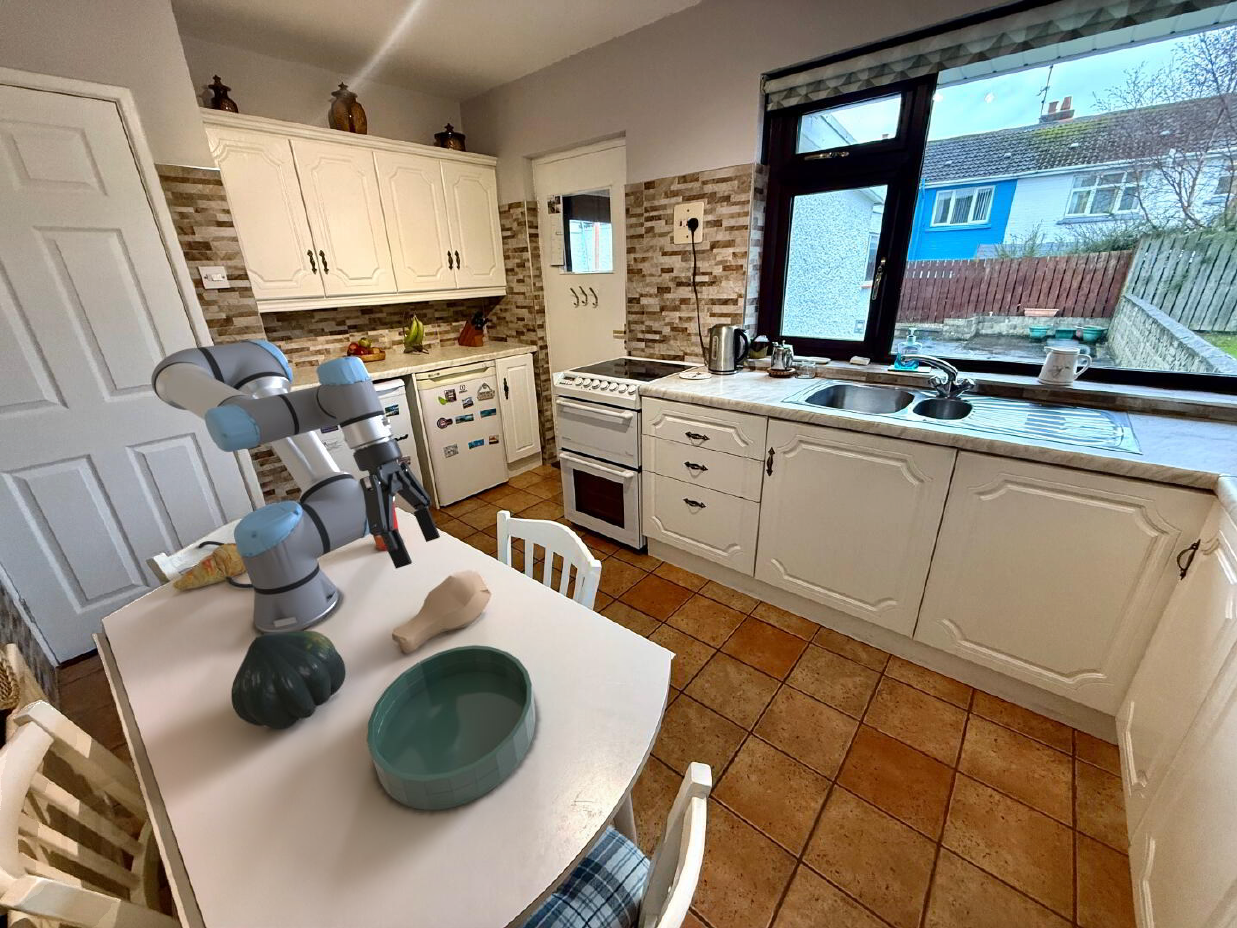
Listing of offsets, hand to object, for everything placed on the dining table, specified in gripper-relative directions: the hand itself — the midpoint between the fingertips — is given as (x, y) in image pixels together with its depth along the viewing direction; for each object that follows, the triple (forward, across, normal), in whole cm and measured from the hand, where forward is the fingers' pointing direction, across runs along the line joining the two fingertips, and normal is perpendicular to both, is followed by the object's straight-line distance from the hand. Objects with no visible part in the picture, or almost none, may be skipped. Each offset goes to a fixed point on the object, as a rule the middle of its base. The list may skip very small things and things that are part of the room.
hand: (419, 551), depth 90 cm
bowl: (+25, -19, -4) cm, 32 cm away
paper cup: (+4, +35, +25) cm, 43 cm away
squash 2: (+18, +5, +3) cm, 18 cm away
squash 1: (+16, -13, +23) cm, 30 cm away
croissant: (-4, +26, +59) cm, 64 cm away
